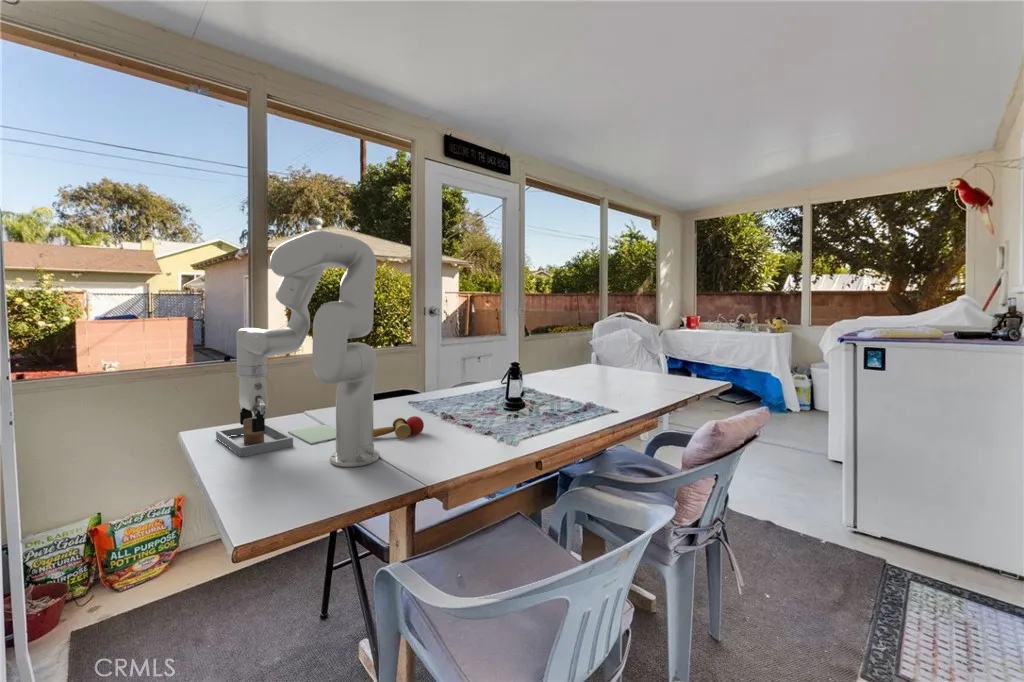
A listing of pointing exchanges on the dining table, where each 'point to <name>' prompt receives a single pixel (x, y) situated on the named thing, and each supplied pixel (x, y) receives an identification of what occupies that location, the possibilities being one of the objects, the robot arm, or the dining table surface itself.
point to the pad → (315, 434)
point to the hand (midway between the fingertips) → (252, 427)
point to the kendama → (402, 427)
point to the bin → (282, 442)
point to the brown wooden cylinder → (251, 433)
